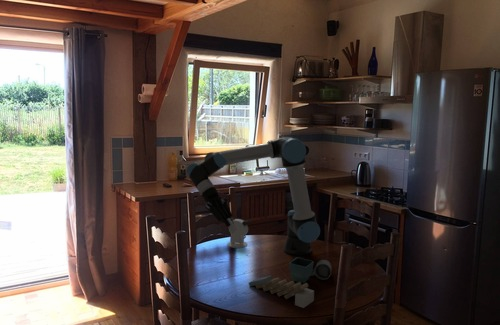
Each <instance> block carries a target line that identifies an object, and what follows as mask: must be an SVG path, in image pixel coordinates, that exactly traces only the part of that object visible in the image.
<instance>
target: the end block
mask: <svg viewBox="0 0 500 325" xmlns="http://www.w3.org/2000/svg"><path fill="white" fill-rule="evenodd" d="M314 301H315V290H313V289H310V288H308V287H307V288H305V289H304V290H302V291H300V292H298V293H297V294H295V295H294V306H297V307H300V308H302V309H304V308H306V307H307V306H309V305H310V304H312V303H314Z"/></svg>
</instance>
